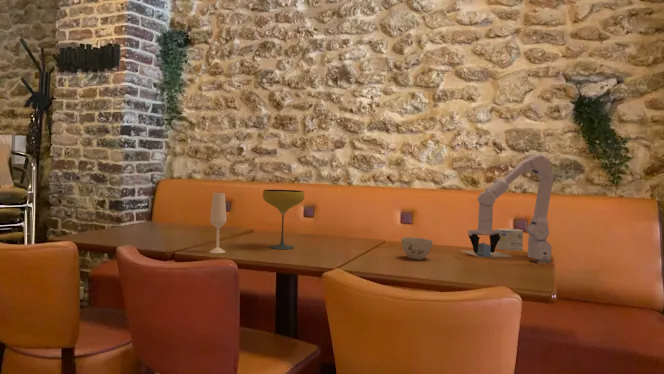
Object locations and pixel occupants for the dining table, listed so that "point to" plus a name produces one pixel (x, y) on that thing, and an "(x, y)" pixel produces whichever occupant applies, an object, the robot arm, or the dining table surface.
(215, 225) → the champagne flute
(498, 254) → the silver flat plate
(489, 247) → the servo
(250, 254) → the dining table surface
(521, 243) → the light bulb box
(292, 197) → the cocktail glass
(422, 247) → the teacup
